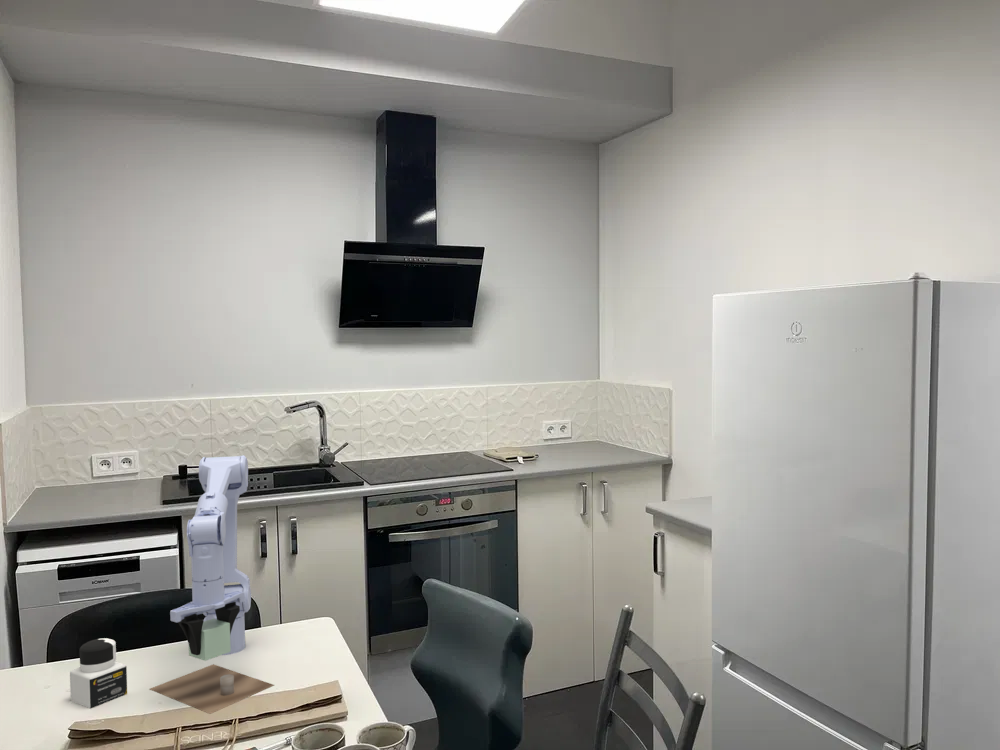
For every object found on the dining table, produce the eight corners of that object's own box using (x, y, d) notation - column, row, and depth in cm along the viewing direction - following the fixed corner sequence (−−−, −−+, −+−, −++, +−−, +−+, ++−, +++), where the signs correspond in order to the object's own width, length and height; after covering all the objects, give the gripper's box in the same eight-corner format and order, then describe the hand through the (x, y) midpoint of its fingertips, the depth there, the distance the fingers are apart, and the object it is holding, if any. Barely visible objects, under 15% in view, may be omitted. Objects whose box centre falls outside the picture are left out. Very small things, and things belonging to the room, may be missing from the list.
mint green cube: (188, 655, 140) (188, 626, 140) (214, 646, 144) (213, 618, 144) (205, 660, 137) (204, 631, 137) (230, 651, 141) (229, 623, 141)
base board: (149, 696, 142) (148, 673, 142) (213, 671, 153) (212, 649, 153) (210, 722, 130) (209, 697, 130) (274, 692, 142) (274, 669, 142)
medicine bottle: (90, 716, 134) (89, 651, 134) (70, 708, 138) (68, 644, 138) (128, 701, 140) (126, 638, 140) (107, 693, 144) (105, 632, 144)
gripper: (184, 590, 132) (186, 665, 132) (253, 571, 144) (255, 640, 144) (163, 585, 136) (165, 657, 136) (231, 567, 148) (233, 634, 148)
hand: (210, 648), depth 140 cm, fingers closed on mint green cube, 5 cm apart
